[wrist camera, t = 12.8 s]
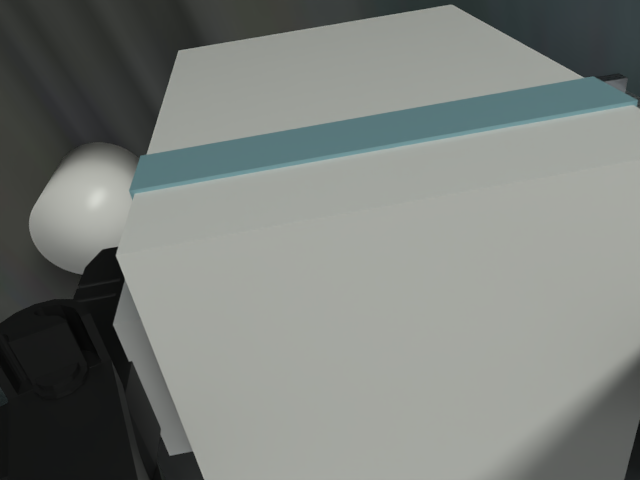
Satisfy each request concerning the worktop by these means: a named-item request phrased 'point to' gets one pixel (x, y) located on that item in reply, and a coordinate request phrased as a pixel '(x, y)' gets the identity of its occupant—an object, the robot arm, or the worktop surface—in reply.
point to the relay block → (392, 256)
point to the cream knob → (84, 205)
